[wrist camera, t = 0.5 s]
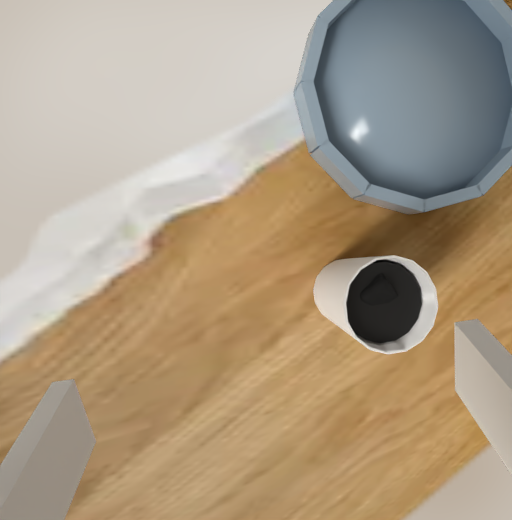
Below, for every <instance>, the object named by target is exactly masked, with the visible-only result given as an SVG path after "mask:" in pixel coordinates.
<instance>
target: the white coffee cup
mask: <svg viewBox="0 0 512 520" xmlns="http://www.w3.org/2000/svg"><path fill="white" fill-rule="evenodd" d="M313 292H314V299H315V304H316V305H317V307H318V309H319V311H320V312H321V314H322V315H324V316H325V317H326V318H328V319H329V320H330V321H332V322H333V323H334V324H336V325H337V326H339V327H340V328H341V329H343V330H344V331H345V332H347V333H348V334H349V335H351V336H352V337H353V338H355V339H356V340H357V341H359V342H360V343H361V344H363V345H364V346H365V347H367V348H368V349H369V350H372V351H376V352H380V353H384V354H393V353H399V352H405V351H407V350H409V349H411V348H412V347H414V346H415V345H417V344H419V343H420V342H422V341H423V339H424V338H425V337H426V335H427V334H428V332H429V331H430V330H431V328H432V327H433V325H434V321H435V317H436V314H437V310H438V302H437V293H436V288H435V286H434V284H433V282H432V280H431V278H430V277H429V275H428V273H427V271H425V270H424V269H423V268H422V267H420V266H419V265H418V264H417V263H415V262H414V261H413V260H410V259H406V258H403V257H399V256H395V255H391V256H377V257H362V258H347V259H340V260H335V261H333V262H331V263H330V264H328V265H326V266H325V267H324V268H323V269H322V270H321V272H320V273H319V274H318V276H317V277H316V281H315V285H314V289H313Z"/></svg>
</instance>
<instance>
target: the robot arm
mask: <svg viewBox="0 0 512 520" xmlns="http://www.w3.org/2000/svg"><path fill="white" fill-rule="evenodd" d="M455 390H456V392H457V394H458V395H459V397H460V398H461V400H462V401H463V403H464V404H465V406H466V407H467V409H468V410H469V412H470V413H471V415H472V416H473V418H474V419H475V421H476V422H477V424H478V425H479V427H480V428H481V430H482V431H483V433H484V434H485V436H486V437H487V439H488V440H489V442H490V443H491V445H492V446H493V448H494V449H495V451H496V452H497V454H498V455H499V457H500V458H501V460H502V462H503V463H504V465H505V466H506V468H507V469H508V471H509V472H510V473H511V475H512V355H511V354H510V353H509V352H508V351H507V350H506V349H505V348H504V347H503V346H502V344H501V343H500V342H499V341H498V340H497V339H496V338H495V337H494V336H493V335H492V334H491V333H490V332H489V331H488V330H487V329H486V327H485V326H484V325H483V324H482V323H481V322H480V321H479V320H478V319H475V320H468V321H461V322H455ZM95 443H96V440H95V437H94V434H93V431H92V429H91V426H90V423H89V420H88V417H87V415H86V412H85V409H84V406H83V403H82V401H81V398H80V395H79V392H78V389H77V387H76V384H75V381H74V379H71V380H64V381H57V382H52V384H51V385H50V387H49V388H48V390H47V392H46V393H45V395H44V396H43V398H42V400H41V401H40V403H39V404H38V406H37V407H36V409H35V411H34V412H33V414H32V415H31V417H30V419H29V420H28V422H27V423H26V425H25V427H24V428H23V430H22V431H21V433H20V435H19V436H18V438H17V439H16V441H15V443H14V444H13V446H12V447H11V449H10V451H9V452H8V454H7V455H6V457H5V459H4V460H3V462H2V463H1V465H0V520H64V519H65V516H66V514H67V512H68V509H69V507H70V504H71V502H72V499H73V497H74V494H75V492H76V489H77V487H78V484H79V482H80V480H81V477H82V475H83V472H84V470H85V467H86V465H87V462H88V460H89V457H90V455H91V452H92V450H93V448H94V445H95Z"/></svg>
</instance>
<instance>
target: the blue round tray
mask: <svg viewBox="0 0 512 520" xmlns="http://www.w3.org/2000/svg"><path fill="white" fill-rule="evenodd" d="M294 98H295V102H296V106H297V110H298V113H299V117H300V121H301V125H302V128H303V132H304V136H305V140H306V144H307V147H308V151H309V153H312V154H311V155H310V156H311V157H312V158H313V159H314V160H315V161H316V162H317V163H318V164H319V165H320V166H321V167H322V168H323V169H324V170H325V171H326V172H327V173H328V174H329V175H330V176H331V177H332V178H333V179H334V181H335V182H336V183H337V184H338V185H339V186H340V187H341V188H342V189H343V190H344V191H345V192H346V193H347V194H348V195H349V196H350V197H351V198H353V199H355V200H358V201H362V202H365V203H369V204H372V205H376V206H380V207H383V208H387V209H390V210H394V211H397V212H401V213H404V214H415V213H422V212H427V211H430V210H434V209H437V208H441V207H445V206H448V205H452V204H455V203H459V202H462V201H466V200H470V199H473V198H477V197H480V196H482V195H484V194H485V193H486V192H487V191H488V190H489V189H490V188H491V187H492V186H493V185H494V184H495V183H496V182H497V180H498V179H499V178H500V177H501V176H502V175H503V174H504V173H505V172H506V171H507V170H508V169H509V168H510V167H511V166H512V10H511V9H510V8H509V7H508V5H507V4H506V3H505V2H504V1H503V0H333V2H331V3H330V4H329V5H328V6H327V7H326V8H325V9H324V10H323V11H322V12H321V13H320V14H319V15H318V17H317V19H316V21H315V23H314V25H313V26H312V28H311V30H310V32H309V34H308V38H307V42H306V46H305V50H304V54H303V58H302V61H301V65H300V69H299V73H298V77H297V81H296V85H295V88H294Z"/></svg>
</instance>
